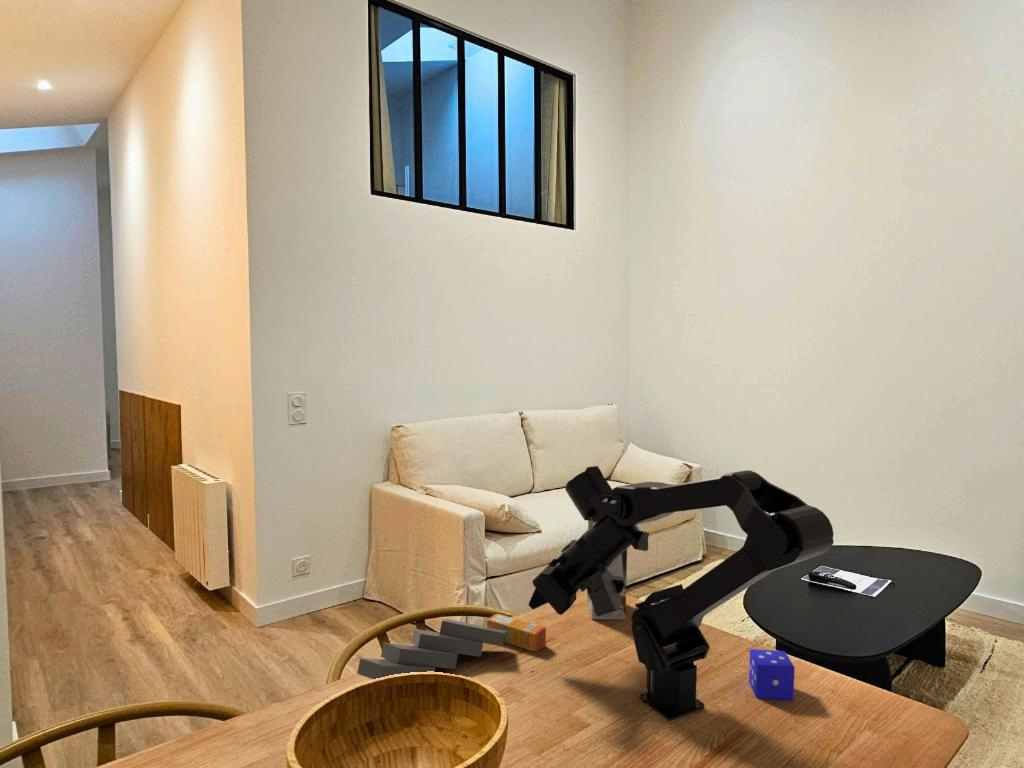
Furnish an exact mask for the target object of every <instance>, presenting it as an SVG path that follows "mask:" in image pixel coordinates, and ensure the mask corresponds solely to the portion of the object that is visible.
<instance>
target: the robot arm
mask: <svg viewBox="0 0 1024 768" xmlns="http://www.w3.org/2000/svg"><path fill="white" fill-rule="evenodd" d="M564 489H565V492H566V494H567V495H568V497H569V499H570V501H572V503H573V505H574V507H575V508H576V510H577V511H578V512H579V514H580V516H581V517H582V519H583V520H584V521H585V522H586V521H588V520H592V521H594V522H597V523H596V524H595V525H594V526H593V527H592V528H590V529H589V530H588V529H587V530H586V531H585V532H584V533H583V534H582V535H581V536H580V537H579V538H578V539H577V540H576V539H572V540H570V541H569V543H568V544H567V545H565V546H564V547H563V548H562V549H561V550H560V551H561V554H560V555H559V556H558V557H557V558H553V559H552V561H550V562H549V564H548V565H546V567H544V569H542V570H541V571H540V572H539V574H538V575H537V576H535V577H534V579H532V581H531V582H532V585H533V587H534V590H533V593H532V596H531V597H530V600H529V602H528V606H529V607H530V608H531V609H532V610H535V609H538V608H540V607H541V606H544V605H546V604H549V605H550V606H551V608H553V610H554V611H555V612H556V614H558V615H560V616H563V614H565V613H566V612H567V611H568V610H569V609H570V608H571V607H572V606H573V604H574V603H575V601H576V600H577V593H578V591H579V590H580V591H581V592H582V593H583V592H585V591H587V592H588V595H589V597H590V599H591V602H592V604H593V606H594V612H595V614H596V615H597V616H598V617H599V616H602V615H605V614H609V613H612V612H615V611H617V610H618V609H619V607H620V605H621V599H622V596H621V595H620V592H621V591H622V590H623V589H624V587H625V586H626V587H627V583H626V584H625V582H624V580H623V577H620V576H614V575H612V573H609V571H608V568H607V567H608V566H610V565H611V563H612V561H613V560H614V559H616V558H617V557H618V556H619V555H620V554H621V553H623V552H624V551H625V550H626V549H627V550H628V548H630V546H632V548H633V549H634V550H637V551H643V552H647V551H649V536H650V532H647V531H643V530H641V529H640V528H639V527H638V525H641V524H645V523H651V522H656V521H658V520H661V519H664V518H666V517H669V516H671V515H673V514H674V513H678V512H686V511H692V510H693V511H694V510H701V509H710V508H716V507H723V506H726V507H727V508H729V509H730V510H731V511H732V513H733V515H734V517H735V519H736V520H737V523H738V525H739V527H740V529H741V530H742V531H743V532H744V533H745V534H746V538H745V541H744V543H743V546H741V547H740V549H738V550H737V551H735V552H734V553H732V554H731V555H729V556H728V557H727V558H726V559H725V560H723V561H721V562H720V563H719V564H717V565H716V566H714V567H713V568H711V569H710V570H709V571H707V572H706V573H704V574H703V575H702V576H700V577H699V578H698V579H696V580H694V581H693V582H692V583H690V584H689V585H688V586H686V587H685V588H684V587H683V584H678V585H677V584H676V585H674V586H670V587H666V588H663V589H660V590H656V591H653V592H651V593H650V594H648V596H647V597H646V598H645V599H644V600H643V601H641V602H638V603H634V606H635V607H636V609H635V610H634V611H633V612H632V614H631V617H630V618H631V620H632V621H631V633H632V637H633V643H634V646H635V651H636V656H637V658H638V659H637V660H638V662H639V663H641V664H643V665H644V667H645V669H646V692H642V693H640V694H639V695H638V699H639V700H640V701H641V702H643V703H644V704H646V705H647V706H648V707H650V708H651V709H652V710H655V712H657V713H658V714H659V715H661V716H663V717H664V718H666V719H668V720H674V719H677V718H680V717H683V716H685V715H688V714H691V713H695V712H698V711H701V710H703V709H704V708H705V703H704V702H703V701H701V700H699V699H697V680H698V679H697V676H698V675H697V674H698V666H697V665H695V662H698V661H699V660H704V659H706V658H707V655H708V653H709V650H710V644H709V643H708V641H707V639H706V637H705V636H704V634H703V633H702V631H701V630H700V626H701V625H702V622H703V619H704V617H705V616H706V615H707V614H709V613H711V612H712V611H714V610H715V609H717V608H718V607H720V606H722V605H723V604H725V603H726V602H727V601H729V600H731V599H732V598H734V597H736V596H737V595H738V594H740V593H742V592H744V591H745V590H747V589H748V588H749V587H751V586H752V585H755V583H757V582H759V581H760V580H762V579H764V578H765V577H766V576H768V575H770V574H771V573H773V572H775V571H776V570H779V569H782V568H786V567H788V566H791V565H795V564H797V563H800V562H803V561H807V560H809V559H811V558H815V557H817V556H821V555H823V554H825V553H827V552H828V551H829V550H830V549H831V548H832V546H833V545H834V543H835V542H834V529H833V525H832V523H831V521H830V519H829V517H828V516H827V515H826V514H825V513H824V512H823V511H822V510H821V509H819V508H817V507H816V506H811V505H808V504H807V503H806V502H805V501H803V500H802V499H801V498H800V497H798V496H796V495H794V494H793V493H791V492H789V491H786V489H783V488H781V487H779V486H776V485H775V484H772V483H771V482H770V481H768V480H767V479H765V478H764V477H763V476H761V474H758V472H755V471H752V470H740V471H735V472H728V473H725V474H723V475H722V476H717V477H711V478H706V479H699V480H694V481H688V482H683V483H675V484H670V483H666V482H662V481H661V482H660V481H659V482H658V481H643V482H637V483H632V484H625V485H619V486H615V487H613V488H612V487H611V485H610V484H609V483H608V481H607V480H606V478H605V476H604V474H603V473H602V470H601V469H600V468H599V466H598V465H593V466H587V467H586V469H585V471H582V472H580V473H579V474H577V475H575V476H573V478H572V479H570V480H569V481H568V482H566V485H565V488H564ZM587 592H586V593H587Z"/></svg>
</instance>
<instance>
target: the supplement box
mask: <svg viewBox="0 0 1024 768" xmlns="http://www.w3.org/2000/svg"><path fill="white" fill-rule="evenodd" d="M486 627H490V628H495V629H500V630H505V631H507V634H506V639H505V644H510V645H512V646H516V647H519V648H521V649H525V650H527V651H530V652H534V653H537V652H538V651H540V650H542V649H543V648H544V647H546V646H547V641H546V637H547V636H546V635H547V632H546V631H547V627H545V626H543V625H539V624H536V623H532V622H528V621H524V620H522V619H518V618H514V617H511V616H508V615H504V614H501V613H495V614H494V615H491V616H490V617H489V618H488V619H487V620H486Z"/></svg>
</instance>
